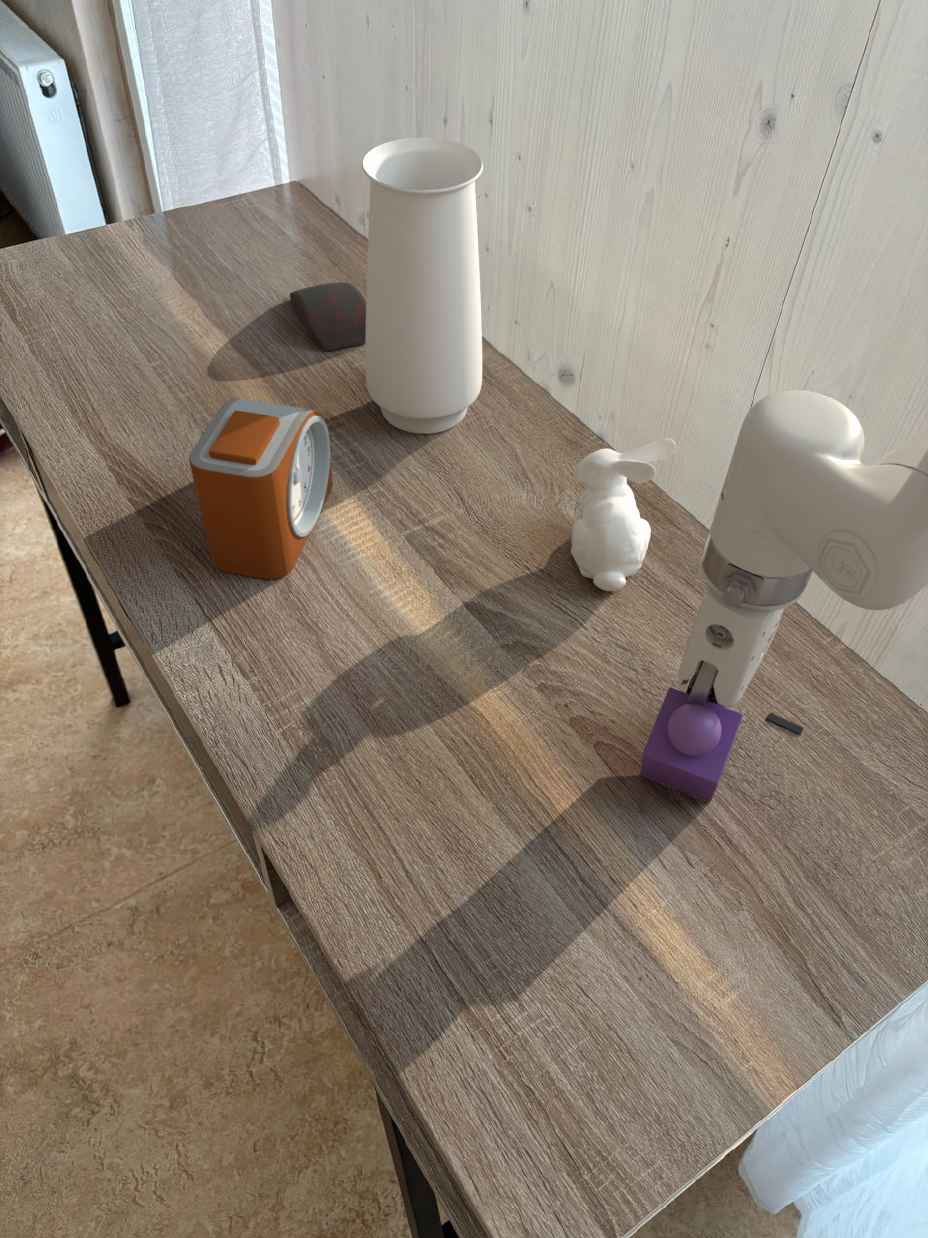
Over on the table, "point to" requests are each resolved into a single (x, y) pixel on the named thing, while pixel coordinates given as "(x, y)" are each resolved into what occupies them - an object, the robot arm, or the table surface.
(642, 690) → the table surface
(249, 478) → the alarm clock
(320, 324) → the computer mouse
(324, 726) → the table surface
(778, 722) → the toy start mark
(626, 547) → the rabbit
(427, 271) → the vase
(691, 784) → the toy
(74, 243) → the table surface
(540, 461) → the table surface
